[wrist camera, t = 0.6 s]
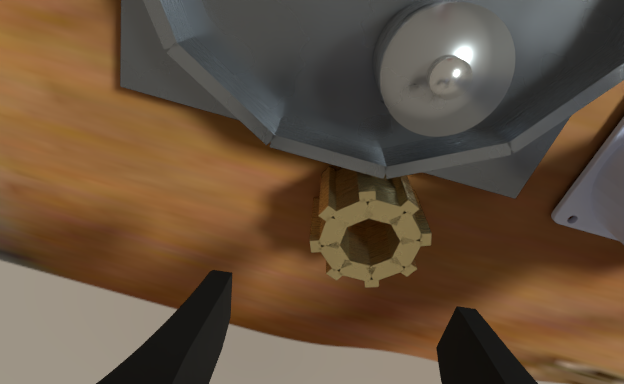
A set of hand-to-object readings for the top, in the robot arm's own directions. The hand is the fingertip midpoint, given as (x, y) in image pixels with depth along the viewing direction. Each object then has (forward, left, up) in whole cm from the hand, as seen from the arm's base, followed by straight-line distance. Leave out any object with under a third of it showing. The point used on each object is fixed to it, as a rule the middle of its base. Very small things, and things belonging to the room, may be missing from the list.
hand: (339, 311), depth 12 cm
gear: (-2, +1, -9) cm, 10 cm away
